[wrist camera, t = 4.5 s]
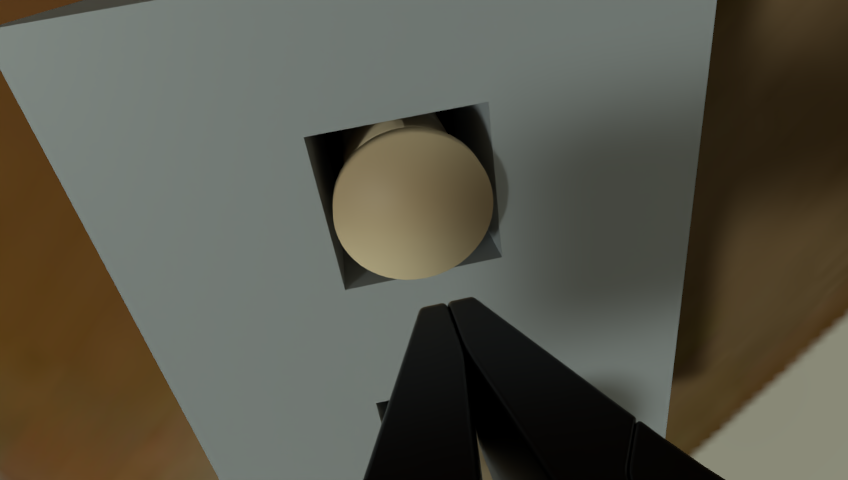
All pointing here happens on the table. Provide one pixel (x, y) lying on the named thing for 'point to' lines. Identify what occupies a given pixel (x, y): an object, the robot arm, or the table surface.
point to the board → (314, 185)
